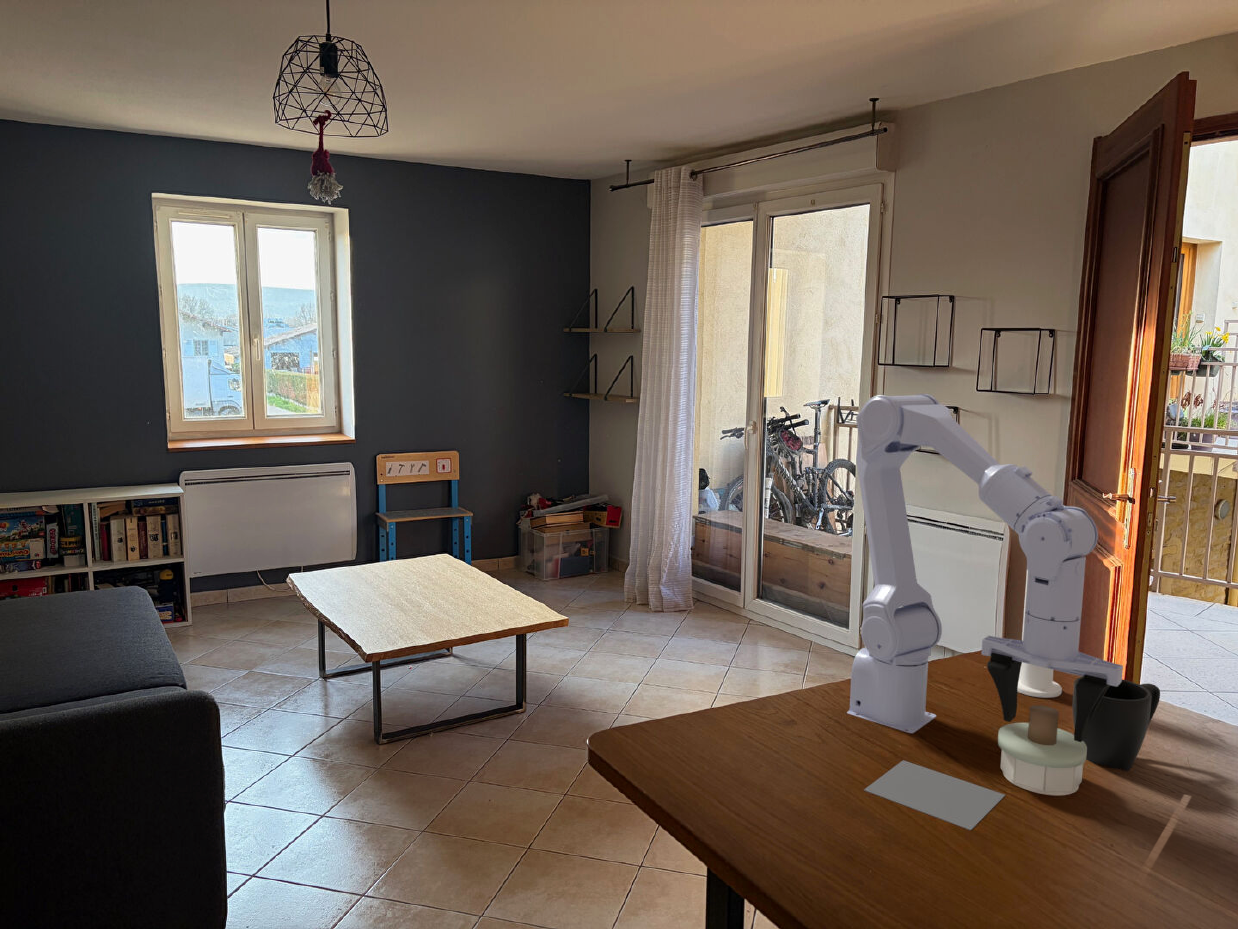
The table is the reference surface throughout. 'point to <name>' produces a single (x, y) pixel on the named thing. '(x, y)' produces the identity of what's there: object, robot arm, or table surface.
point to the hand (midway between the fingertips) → (1043, 728)
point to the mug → (1119, 723)
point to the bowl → (1041, 776)
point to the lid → (1042, 741)
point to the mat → (936, 794)
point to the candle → (1037, 677)
